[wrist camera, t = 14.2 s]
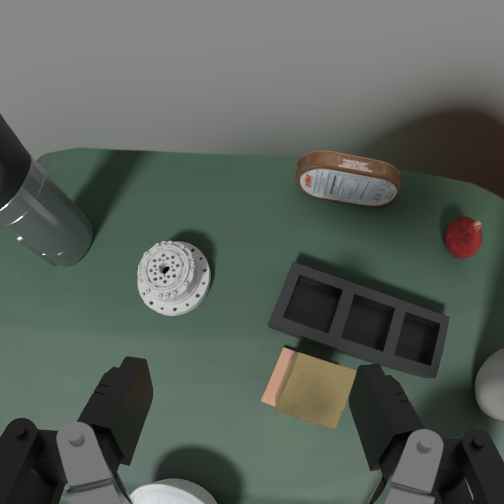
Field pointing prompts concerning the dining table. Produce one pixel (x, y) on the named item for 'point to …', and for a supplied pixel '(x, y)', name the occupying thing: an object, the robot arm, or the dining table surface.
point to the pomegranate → (463, 237)
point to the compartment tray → (360, 322)
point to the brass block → (314, 390)
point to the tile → (277, 376)
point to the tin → (348, 178)
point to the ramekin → (171, 493)
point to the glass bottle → (491, 386)
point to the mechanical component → (173, 277)
